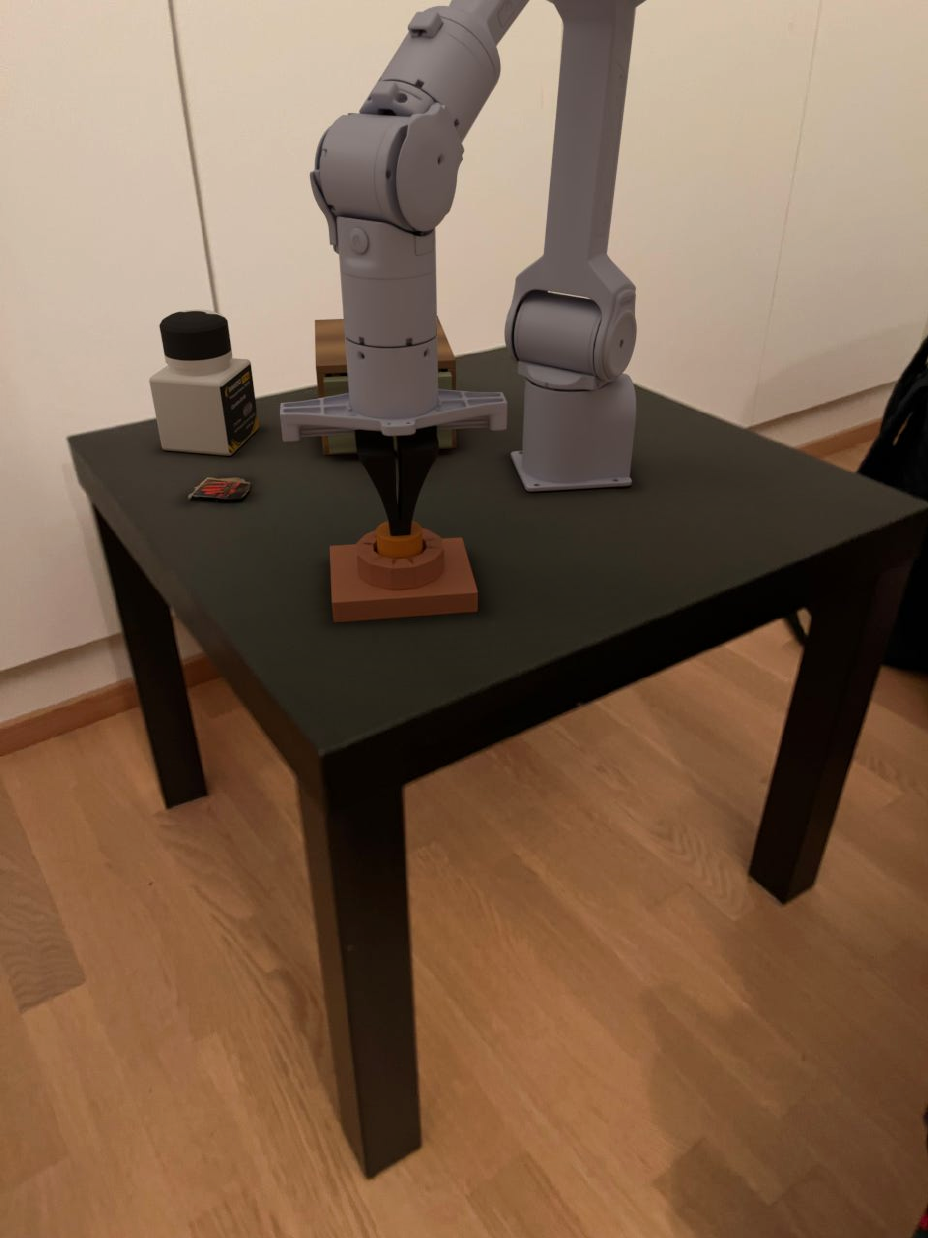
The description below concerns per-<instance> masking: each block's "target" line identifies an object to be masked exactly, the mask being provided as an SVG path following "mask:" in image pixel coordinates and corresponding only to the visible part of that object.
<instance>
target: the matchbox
mask: <svg viewBox="0 0 928 1238" xmlns="http://www.w3.org/2000/svg"><path fill="white" fill-rule="evenodd" d="M193 488H194V491H193V492H191V493H189V494H188V496H187V501H191V499H193V497H196V498H200V497H202V498H215V499H223V500H242V499H243V498H244V497H245V496H246V494H247V493H248V492H249V490H250V489H251V482H249V481H246V480H245V478H240V476H239V477H238V476H235V477H226V478H223V477H221V478H214V477H206V478H204V480H202V481H201V482H200V484H199V485H197V486H194V487H193ZM214 502H218V500H214Z"/></svg>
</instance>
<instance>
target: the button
mask: <svg viewBox="0 0 928 1238" xmlns="http://www.w3.org/2000/svg"><path fill="white" fill-rule="evenodd" d="M422 528H423V527H422V525H420V524H419V522H416V521H414V520H412V525H411V534H410V535H402V536H391V535H390V529H389V522H388V520H387V521H384V522H382V523H380V524H379V525H378V526H377V527H376V529H375V530H376V534H377V552H378V554H379V555H380V556H381V557H386V558H391V559H409V558H412V557H415V556H417V555H420V554H422V551H423V543H422Z"/></svg>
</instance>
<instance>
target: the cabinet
mask: <svg viewBox="0 0 928 1238" xmlns="http://www.w3.org/2000/svg"><path fill="white" fill-rule="evenodd" d="M314 344H315V345H314V348H315V349H314V350H315V351H314V354H315V355H314V356H315V373H316V385H317V397H318V398H324V397H325V393H324V380H323V378H324V377H331V374H333V373H347V359H346V344H345V331H344V318H331V319H330V318H328V319H314ZM450 344H451V343H450V342H449V340H448V337H447V335H446V333H445V330H444V328H443V326H442V323H441V321H440V318H439V316H438V315H437V350H438V369H441V372H450V373H451V375H452V390H455V391H457V359H456V357H455V354H454V351H453V349H452V347H451V345H450ZM318 398H317V399H318ZM321 443H322V453H323V456H337V455H339V456H340V455H355V454H356V455H358V454H357V452H347V453H329V441H328V436H321ZM448 449H457V429H452V447H440V448H439V450H448ZM396 452H397V450H395V453H396Z"/></svg>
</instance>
